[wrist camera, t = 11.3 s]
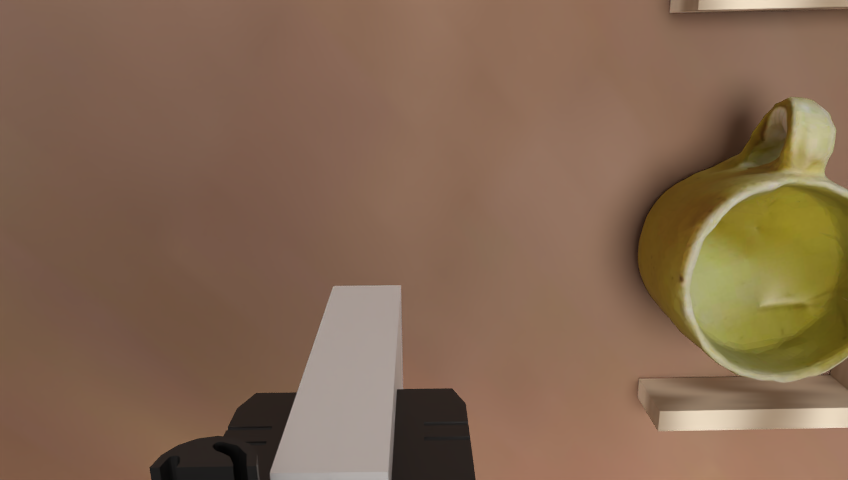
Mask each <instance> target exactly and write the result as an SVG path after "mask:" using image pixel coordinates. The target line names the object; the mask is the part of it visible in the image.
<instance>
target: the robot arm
mask: <svg viewBox="0 0 848 480" xmlns="http://www.w3.org/2000/svg"><path fill="white" fill-rule="evenodd" d="M150 473H151V480H475V472H474V465H473V457H472V449H471V441H470V434H469V426H468V418H467V411H466V404H465V402H464V401H463V400H462V399H461V398H460V397H459V396H458V395H457V393H456V392H455V391H454V390H453V389H403V358H402V311H401V285H379V286H333V288H332V291H331V294H330V297H329V300H328V303H327V306H326V309H325V312H324V315H323V318H322V321H321V324H320V327H319V330H318V333H317V335H316V338H315V341H314V344H313V347H312V350H311V353H310V356H309V359H308V362H307V365H306V368H305V371H304V374H303V377H302V380H301V382H300V385H299V388H298V391H297V393H256V394H254V395H253V396H252V397H251V398H250V399H248V400H247V401H246V402H245V403H243V404H242V405H241V406H240V407H239V408H237V410H236V412H235V414H234V416H233V418H232V420H231V422H230V424H229V426H228V430H227V431H226V432H225V434H224V436H223V437H222V436H215V437H207V438H199V439H195V440H192V441H189V442H186V443H183V444H180V445H178V446H176V447H174V448H173V449H171V450H169V451H168V452H166V453H164V454H163V455H161V456H160V457H159V458H158V459H157V460H156V461H155V462H154V464H153V465H152V466H151V467H150Z"/></svg>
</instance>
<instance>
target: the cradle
mask: <svg viewBox="0 0 848 480" xmlns="http://www.w3.org/2000/svg"><path fill="white" fill-rule="evenodd" d="M826 9H848V0H671V2H670V13H688V12H734V11H780V10H826ZM638 399H639V400H640V402H641V404H642V405H643V407H644V409H645V410H646V412H647V414H648V415H649V417H650V419H651V420H652V422H653V424H654V425H655V427H656V429H657V430H658V431H692V430H745V429H797V428H848V358H846V359H845V360H844V361H842V362H841V363H840V364H838V365H837V366H835V367H834V368H832V369H831V371H830V375H817V376H813V377H806V378H803V379H800V380H798V381H794V382H786V383H781V382H775V381H765V380H762V381H760V380H756V379H752V378H748V377H695V378H643V379H639V386H638Z"/></svg>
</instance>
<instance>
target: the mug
mask: <svg viewBox="0 0 848 480" xmlns="http://www.w3.org/2000/svg"><path fill="white" fill-rule="evenodd" d="M835 136H836V128H835V126H834V124H833V122H832V120H831V116H830V114H829V113H828V112H827V111H826V110H825V109H823V108H822V107H821V106H820V105H818V104H817V103H816V102H815V101H813V100H811V99H807V98H800V97H790V98H787V99H785V100H783V101H782V102H779V103H777V104H775V105H774V107H773V108H772V109H771V110H770V111H769V112H768V113H767V114H765V116H764V117H763V119H762V120H761V122H760V123H759V124H758V126H757V127H756V128H755V130H754V131H753V132H752V135H751V137H750V140H749V141H748V143H747V144H746V145H745V147H744V149H743V151H742V152H741V153H740V154H738V155H736V156H733V157H731V158H729V159H727V160H725V161H723V162H721V163H720V164H718V165H716V166H714V167H711V168H709V169H706V170H703V171H701V172H698V173H695V174H693V175H692V176H690V177H688V178H687V179H685V180H683V181H681V182H679V183H677V184H675V185H674V186H673V187H671V188H670V189H668V190H667V191H666V192H665V193H664V194H663V195H662V196H661V197H660V198H659V199H658V200H657V201H656V203H655V204H654V205H653V207H652V208H651V210H650V212H649V213H648V215H647V217H646V220H645V223H644V225H643V228H642V232H641V236H640V239H639V247H638V265H639V271H640V274H641V277H642V280H643V283H644V285H645V287H646V289H647V291H648V292H649V294H650V296H651V297H652V299H653V300H654V301H655V302H656V303H657V304H658V306H659V307H660V308H661V309H662V311H663V312H664V313H665V314H666V315H667V316H668V317H669V318H670V319H671V321H672V322H673V323H674V324H675V325H676V327H677V328H678V329H679V331H680V332H681V333H683V334H684V335H685V336H686V337H687V338H689V339H690V340H691V341H692V342H693V343H695V344H696V345H697V346H698V347H699V348H701V349H702V350H703V351H704V352H705V353H706V354H707V355H708V356H709V357H710V358H712V359H713V360H714V361H715V362H716V363H718V364H719V365H721V366H723V367H725V368H727V369H728V370H730V371H731V372H733V373H735V374H737V375H739V376H743V377H748V378H752V379H756V380H760V381H762V380H765V381H775V382H781V383H786V382H794V381H798V380H800V379H803V378H806V377H813V376H817V375H820V374H823V373H825V372H827V371H829V370H830V369H832V368H834V367H835V366H837V365H838V364H840V363H841V362H842V361H844V360H845V359H846V358H848V190H847V189H845V188H844V187H842V186H840V185H838V184H836V183H834V182H832V181H831V180H829V179H828V178H827V177H826V176H825V173H824V172H825V166H826V164H827V161H828V159H829V157H830V156H831V154H832V152H833V149H834V143H835Z"/></svg>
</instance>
